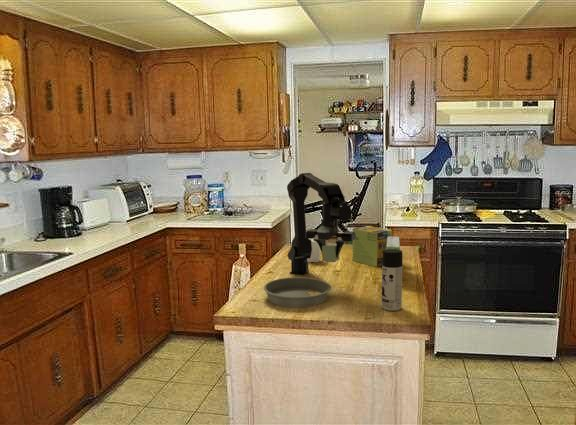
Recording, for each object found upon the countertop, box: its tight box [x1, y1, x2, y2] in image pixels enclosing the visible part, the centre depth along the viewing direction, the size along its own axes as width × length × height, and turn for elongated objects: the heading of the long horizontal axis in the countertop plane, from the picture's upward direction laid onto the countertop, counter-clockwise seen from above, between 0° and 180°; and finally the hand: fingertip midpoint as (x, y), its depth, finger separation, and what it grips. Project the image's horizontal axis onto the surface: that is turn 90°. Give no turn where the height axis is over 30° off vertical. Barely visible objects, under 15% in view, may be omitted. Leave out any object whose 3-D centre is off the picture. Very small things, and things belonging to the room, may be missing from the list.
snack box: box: [386, 236, 401, 250], centre depth 210 cm, size 21×6×15 cm, turn 168°
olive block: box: [321, 242, 340, 263], centre depth 195 cm, size 5×5×6 cm
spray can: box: [381, 249, 403, 312], centre depth 171 cm, size 7×7×20 cm
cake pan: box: [263, 276, 332, 308], centre depth 186 cm, size 25×25×4 cm
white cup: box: [307, 238, 322, 263], centre depth 238 cm, size 8×8×10 cm
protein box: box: [352, 225, 393, 267], centre depth 234 cm, size 10×15×16 cm
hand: (330, 257), depth 195 cm, fingers closed on olive block, 5 cm apart
